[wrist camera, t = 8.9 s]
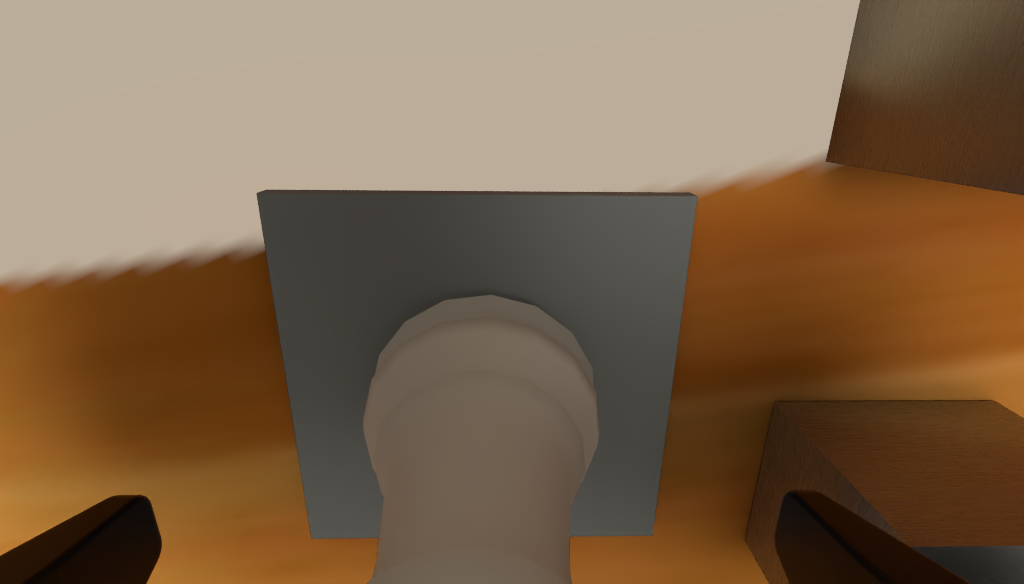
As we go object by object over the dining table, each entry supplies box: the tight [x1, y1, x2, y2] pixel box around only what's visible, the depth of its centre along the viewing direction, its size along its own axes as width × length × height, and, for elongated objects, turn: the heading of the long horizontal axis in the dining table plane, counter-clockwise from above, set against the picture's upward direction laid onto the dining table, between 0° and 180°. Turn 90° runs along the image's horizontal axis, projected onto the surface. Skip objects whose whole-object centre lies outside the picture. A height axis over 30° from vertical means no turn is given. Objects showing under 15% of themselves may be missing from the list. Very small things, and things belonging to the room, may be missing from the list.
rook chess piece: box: [363, 295, 600, 584], centre depth 7 cm, size 4×4×8 cm
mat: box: [257, 190, 697, 539], centre depth 11 cm, size 8×8×1 cm
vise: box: [745, 0, 1024, 584], centre depth 9 cm, size 15×5×4 cm, turn 179°
